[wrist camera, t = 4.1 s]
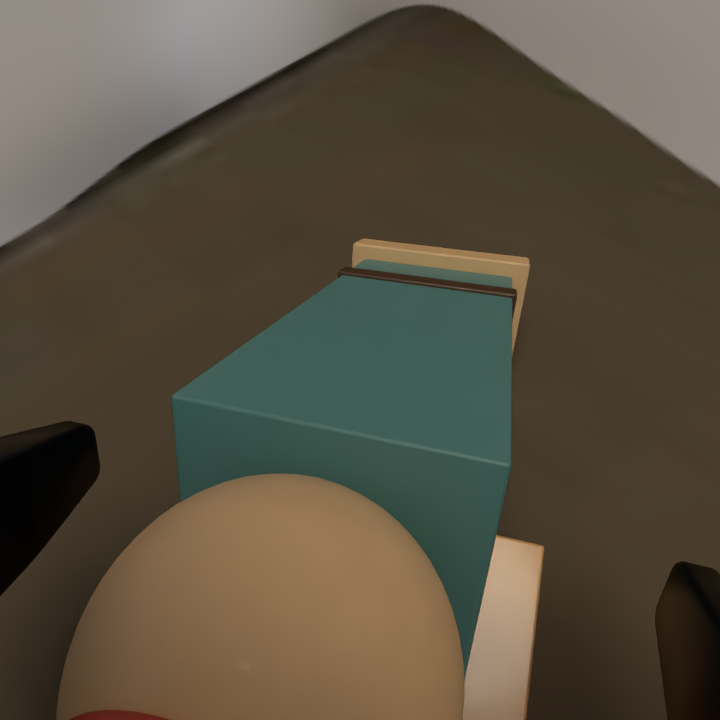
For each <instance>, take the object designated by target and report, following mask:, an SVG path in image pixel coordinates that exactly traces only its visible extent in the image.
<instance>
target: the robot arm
mask: <svg viewBox="0 0 720 720" xmlns="http://www.w3.org/2000/svg"><path fill="white" fill-rule="evenodd" d="M99 471H100V462H99V456H98V449H97V443H96V437H95V432H94V430H93V429H92V427H90V426H89V425H86V424H81V423H77V422H72V421H64V422H60V423H56V424H52V425H47V426H43V427H39V428H35V429H31V430H27V431H22V432H18V433H14V434H10V435H6V436H2V437H0V596H1V595H2V594H3V593H4V592H5V590H6V589H7V588H8V587H9V586H10V585H11V584H12V583H13V582H14V581H15V580H16V579H17V577H18V576H19V575H20V574H21V573H22V572H23V571H24V570H25V569H26V568H27V567H28V565H29V564H30V563H31V562H32V561H33V560H34V559H35V557H36V556H37V555H38V554H39V553H40V552H41V550H42V549H43V548H44V547H45V545H46V544H47V543H48V542H49V540H50V539H51V538H52V536H53V535H54V534H55V533H56V531H57V530H58V529H59V527H60V526H61V525H62V524H63V522H64V521H65V520H66V518H67V517H68V516H69V515H70V513H71V512H72V511H73V509H74V508H75V507H76V506H77V504H78V503H79V502H80V500H81V499H82V498H83V496H84V495H85V494H86V493H87V491H88V490H89V489H90V487H91V486H92V485H93V484H94V482H95V481H96V479H97V477H98V475H99ZM655 626H656V634H657V641H658V649H659V657H660V665H661V672H662V680H663V688H664V696H665V703H666V711H667V719H668V720H720V574H719V573H718V572H717V571H716V570H714V569H712V568H709V567H705V566H701V565H696V564H692V563H688V562H678V563H676V564H675V565H674V567H673V568H672V570H671V572H670V575H669V577H668V580H667V582H666V585H665V587H664V590H663V592H662V594H661V597H660V599H659V602H658V604H657V608H656V614H655Z"/></svg>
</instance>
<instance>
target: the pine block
mask: <svg viewBox="0 0 720 720" xmlns="http://www.w3.org/2000/svg"><path fill="white" fill-rule="evenodd" d="M543 555H544V547H543V546H542V545H538V544H534V543H530V542H526V541H522V540H517V539H513V538H509V537H505V536H500V535H496V538H495V543H494V548H493V552H492V557H491V561H490V566H489V570H488V575H487V580H486V584H485V589H484V593H483V598H482V602H481V607H480V612H479V616H478V621H477V625H476V630H475V634H474V639H473V644H472V648H471V653H470V657H469V662H468V667H467V671H466V676H465V680H464V693H465V696H464V707H463V719H462V720H526V716H527V707H528V697H529V688H530V678H531V669H532V659H533V650H534V641H535V631H536V622H537V612H538V603H539V593H540V584H541V574H542V565H543Z"/></svg>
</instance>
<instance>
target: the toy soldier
mask: <svg viewBox="0 0 720 720" xmlns="http://www.w3.org/2000/svg"><path fill="white" fill-rule="evenodd" d="M529 269H530V263H529V259H528V258H525V257H516V256H508V255H499V254H491V253H482V252H474V251H465V250H456V249H448V248H439V247H431V246H422V245H414V244H405V243H397V242H388V241H380V240H371V239H361V240H359V241H358V242H356V243H354V245H353V256H352V267H344V268H343V269H341V270H340V271H339V273H338V279H336V280H335V281H333V282H332V283H331V284H329V285H328V286H326V287H325V288H323V289H322V290H321V291H319V292H318V293H316V294H315V295H314V296H312V297H311V298H309V299H308V300H306V301H305V302H304V303H302V304H301V305H299V306H298V307H297V308H295V309H294V310H292V311H291V312H289V313H288V314H287V315H285V316H284V317H282V318H281V319H280V320H278V321H277V322H275V323H274V324H272V325H271V326H270V327H268V328H267V329H265V330H264V331H263V332H261V333H260V334H258V335H257V336H255V337H254V338H253V339H251V340H250V341H248V342H247V343H246V344H244V345H243V346H241V347H240V348H238V349H237V350H236V351H234V352H233V353H231V354H230V355H229V356H227V357H226V358H224V359H223V360H221V361H220V362H219V363H217V364H216V365H214V366H213V367H212V368H210V369H209V370H207V371H206V372H204V373H203V374H202V375H200V376H199V377H197V378H196V379H195V380H193V381H192V382H190V383H189V384H187V385H186V386H185V387H183V388H182V389H180V390H179V391H178V392H176V393H175V394H173V396H172V407H173V419H174V431H175V443H176V455H177V467H178V479H179V491H180V503H178V504H176V505H175V506H173V507H172V508H171V509H169V510H168V511H166V512H165V513H164V514H162V515H161V516H159V517H158V518H157V519H156V520H154V521H153V522H152V523H151V524H150V525H149V526H148V527H147V528H145V529H144V530H143V531H142V532H141V533H140V534H139V535H138V536H137V537H136V538H135V539H134V540H133V541H132V542H131V543H130V544H129V545H128V547H127V548H126V549H125V550H124V551H123V552H122V553H121V554H120V555H119V557H118V558H117V559H116V560H115V562H114V563H113V564H112V566H111V567H110V568H109V570H108V571H107V572H106V574H105V575H104V577H103V578H102V579H101V581H100V583H99V584H98V586H97V588H96V590H95V591H94V593H93V595H92V596H91V598H90V600H89V602H88V604H87V606H86V608H85V610H84V612H83V615H82V617H81V619H80V621H79V623H78V626H77V628H76V631H75V634H74V637H73V640H72V643H71V646H70V648H69V651H68V654H67V658H66V662H65V666H64V670H63V674H62V679H61V683H60V689H59V696H58V704H57V711H56V720H462V719H463V707H464V696H465V693H464V680H465V676H466V671H467V667H468V662H469V657H470V653H471V648H472V644H473V639H474V634H475V630H476V625H477V621H478V616H479V612H480V607H481V602H482V598H483V593H484V589H485V584H486V580H487V575H488V570H489V566H490V561H491V557H492V552H493V548H494V543H495V538H496V534H497V529H498V525H499V520H500V516H501V511H502V506H503V502H504V497H505V493H506V488H507V484H508V479H509V474H510V470H511V419H512V354H513V349H514V344H515V339H516V334H517V329H518V324H519V319H520V314H521V309H522V304H523V299H524V294H525V289H526V284H527V279H528V274H529Z"/></svg>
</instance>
